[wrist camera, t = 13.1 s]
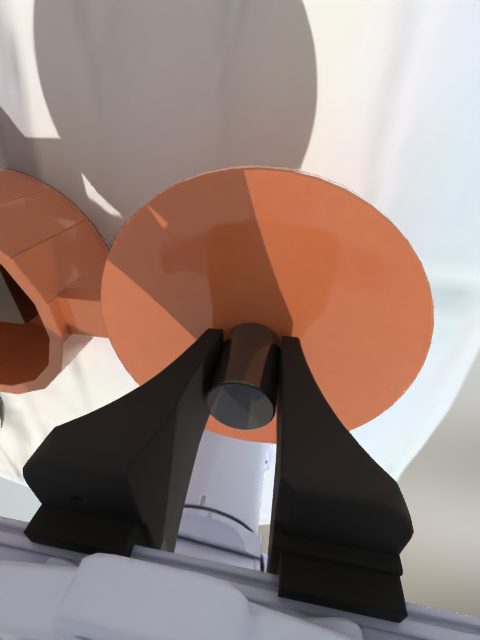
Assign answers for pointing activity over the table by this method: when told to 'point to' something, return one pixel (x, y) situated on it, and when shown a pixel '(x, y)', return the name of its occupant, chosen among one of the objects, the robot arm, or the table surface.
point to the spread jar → (1, 414)
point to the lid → (270, 293)
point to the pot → (47, 281)
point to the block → (14, 301)
